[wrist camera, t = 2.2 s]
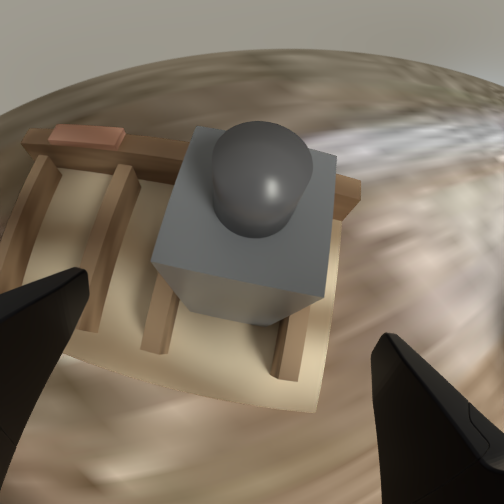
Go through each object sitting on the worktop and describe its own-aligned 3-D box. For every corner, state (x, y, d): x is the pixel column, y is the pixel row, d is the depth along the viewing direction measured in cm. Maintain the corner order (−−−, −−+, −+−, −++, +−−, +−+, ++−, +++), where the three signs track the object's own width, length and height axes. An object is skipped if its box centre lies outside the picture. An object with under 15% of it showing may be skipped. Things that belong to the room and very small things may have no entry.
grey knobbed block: (265, 327, 18) (356, 280, 6) (190, 311, 17) (129, 232, 6) (278, 255, 19) (359, 114, 7) (207, 240, 19) (193, 78, 7)
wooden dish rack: (311, 410, 17) (338, 426, 13) (-9, 316, 16) (-48, 306, 12) (339, 208, 21) (364, 175, 17) (48, 156, 21) (26, 123, 16)
